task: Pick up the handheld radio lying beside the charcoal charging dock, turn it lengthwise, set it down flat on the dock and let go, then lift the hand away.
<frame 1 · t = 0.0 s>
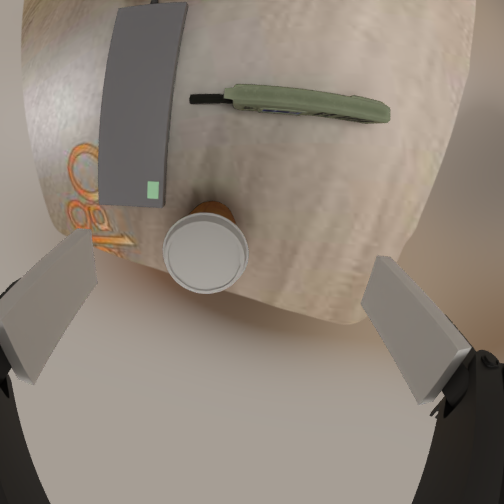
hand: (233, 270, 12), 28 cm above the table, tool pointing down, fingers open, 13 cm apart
handheld radio: (284, 102, 34), on the table
disposable coffee cup: (212, 221, 41), on the table
charging dock: (137, 100, 32), on the table
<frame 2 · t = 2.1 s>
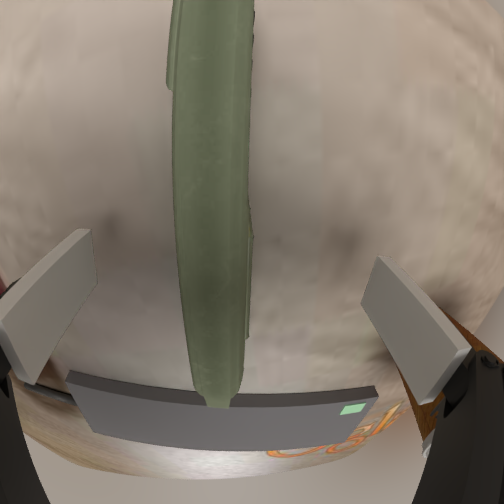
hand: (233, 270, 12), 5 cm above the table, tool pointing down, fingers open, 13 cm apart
handheld radio: (218, 228, 17), on the table
disposable coffee cup: (417, 332, 22), on the table
charging dock: (221, 420, 25), on the table
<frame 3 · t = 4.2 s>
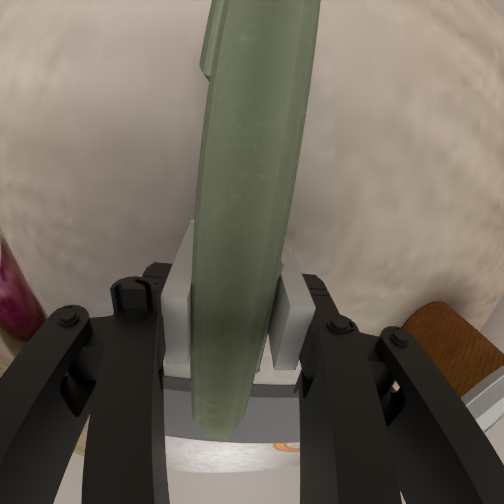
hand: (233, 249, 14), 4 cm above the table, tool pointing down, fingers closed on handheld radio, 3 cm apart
handheld radio: (230, 242, 15), point 3 cm above the table, touching gripper
disposable coffee cup: (423, 327, 22), on the table
charging dock: (232, 411, 26), on the table
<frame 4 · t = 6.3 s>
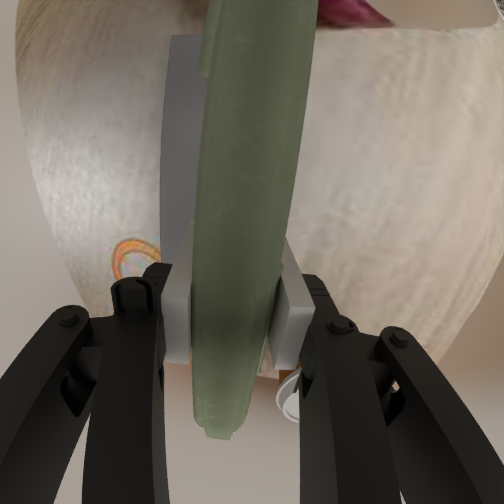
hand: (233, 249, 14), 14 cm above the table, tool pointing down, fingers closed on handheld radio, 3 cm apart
handheld radio: (231, 243, 15), point 14 cm above the table, touching gripper
disposable coffee cup: (302, 327, 35), on the table
charging dock: (213, 187, 27), on the table
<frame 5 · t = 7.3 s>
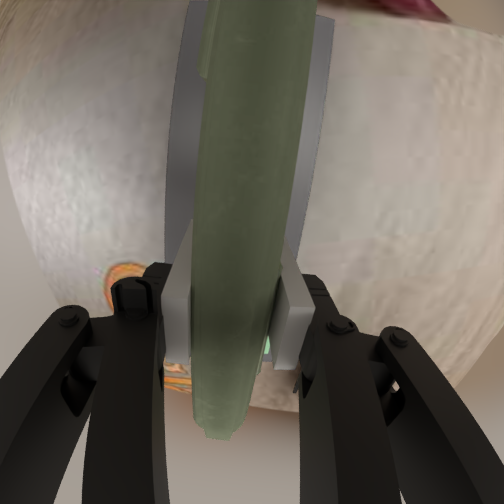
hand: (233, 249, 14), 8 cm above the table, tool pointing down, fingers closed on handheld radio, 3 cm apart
handheld radio: (230, 244, 15), point 7 cm above the table, touching gripper
charging dock: (235, 201, 21), on the table
when the fingers open (3 cm above the table, at t = 8.3 s): handheld radio stays where it is, resting on charging dock.
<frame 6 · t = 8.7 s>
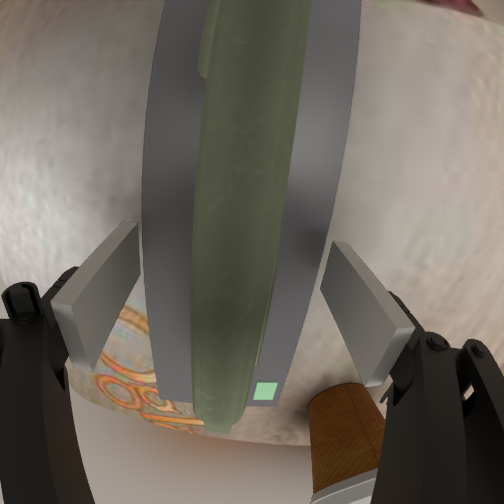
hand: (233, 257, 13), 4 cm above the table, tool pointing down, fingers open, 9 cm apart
handheld radio: (230, 239, 15), point 1 cm above the table, touching charging dock
disposable coffee cup: (337, 399, 25), on the table
charging dock: (233, 230, 16), on the table
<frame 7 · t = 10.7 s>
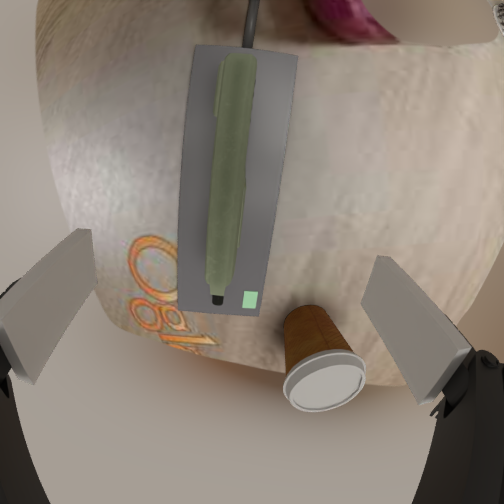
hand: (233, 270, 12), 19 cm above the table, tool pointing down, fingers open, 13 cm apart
handheld radio: (226, 191, 28), point 1 cm above the table, touching charging dock
disposable coffee cup: (305, 322, 38), on the table
charging dock: (229, 188, 29), on the table
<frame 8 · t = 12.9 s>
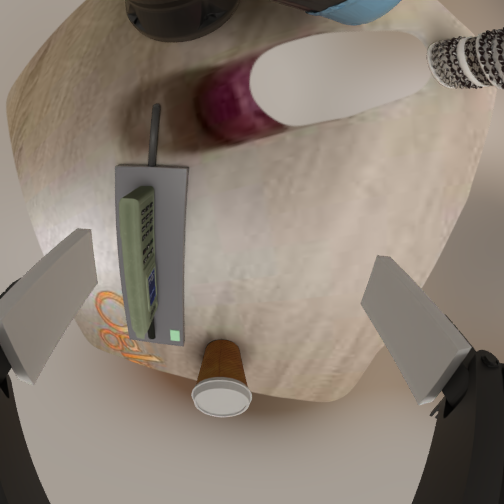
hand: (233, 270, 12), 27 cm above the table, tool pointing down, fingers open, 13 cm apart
handheld radio: (147, 268, 40), point 1 cm above the table, touching charging dock
decorative candle: (444, 65, 29), on the table
disposable coffee cup: (222, 350, 50), on the table
charging dock: (152, 264, 41), on the table
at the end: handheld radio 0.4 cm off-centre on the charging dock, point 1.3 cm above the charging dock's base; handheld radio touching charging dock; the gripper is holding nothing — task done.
